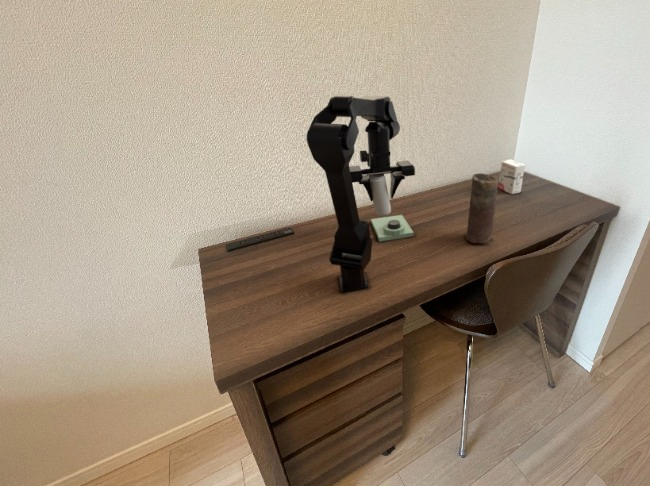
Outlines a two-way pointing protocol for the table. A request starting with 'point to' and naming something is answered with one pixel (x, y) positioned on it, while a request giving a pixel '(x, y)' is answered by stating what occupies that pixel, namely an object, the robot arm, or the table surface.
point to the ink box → (511, 176)
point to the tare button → (393, 224)
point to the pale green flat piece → (390, 234)
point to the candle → (482, 208)
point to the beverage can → (380, 195)
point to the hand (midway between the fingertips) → (381, 199)
